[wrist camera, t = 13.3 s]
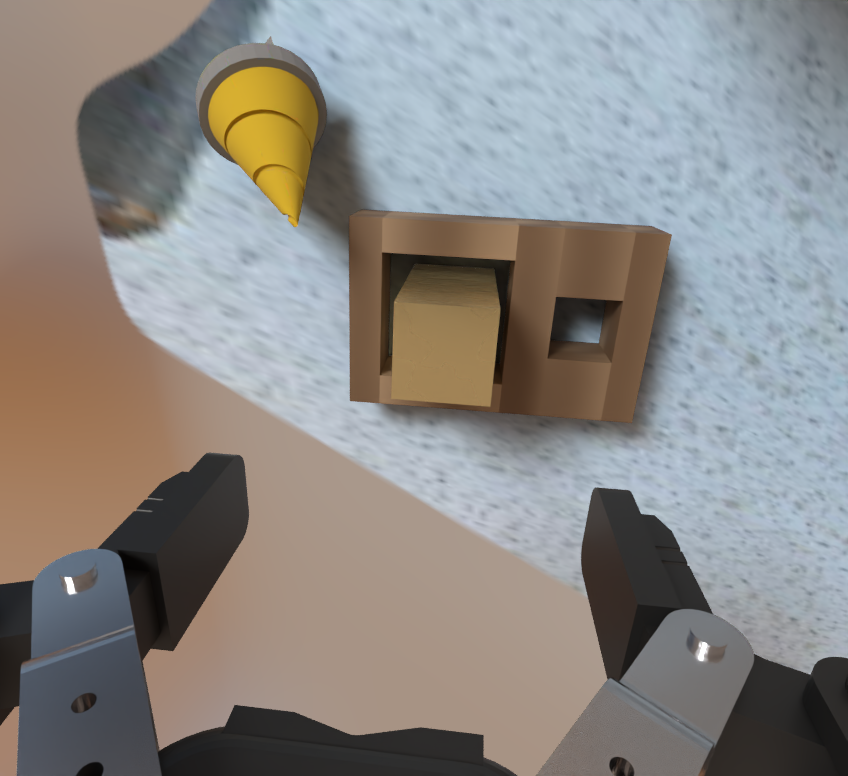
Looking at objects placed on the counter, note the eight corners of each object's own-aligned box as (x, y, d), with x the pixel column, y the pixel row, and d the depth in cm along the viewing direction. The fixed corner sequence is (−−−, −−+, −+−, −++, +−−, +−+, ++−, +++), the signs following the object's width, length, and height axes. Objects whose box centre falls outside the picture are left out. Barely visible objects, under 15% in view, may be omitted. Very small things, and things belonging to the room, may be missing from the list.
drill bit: (324, 27, 25) (385, 184, 21) (288, 127, 29) (334, 277, 25) (199, -19, 22) (242, 154, 18) (177, 100, 26) (208, 265, 22)
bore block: (651, 226, 27) (671, 234, 24) (617, 398, 30) (631, 422, 28) (361, 209, 28) (349, 215, 25) (361, 378, 31) (349, 400, 29)
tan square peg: (494, 268, 28) (500, 309, 21) (486, 344, 30) (490, 406, 23) (415, 263, 29) (394, 301, 21) (411, 338, 30) (391, 398, 23)
